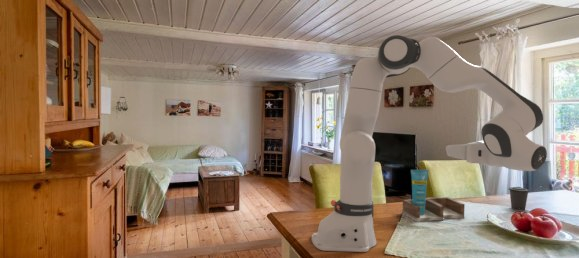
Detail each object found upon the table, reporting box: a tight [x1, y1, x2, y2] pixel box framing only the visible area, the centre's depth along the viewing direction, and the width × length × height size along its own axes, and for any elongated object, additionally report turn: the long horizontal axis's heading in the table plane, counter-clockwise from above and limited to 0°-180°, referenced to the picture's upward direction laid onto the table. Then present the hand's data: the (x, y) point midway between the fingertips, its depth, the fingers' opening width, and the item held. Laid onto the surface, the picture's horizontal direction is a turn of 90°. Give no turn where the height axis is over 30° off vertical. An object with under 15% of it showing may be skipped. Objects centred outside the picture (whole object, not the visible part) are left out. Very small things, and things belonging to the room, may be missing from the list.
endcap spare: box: [426, 196, 466, 219], centre depth 144 cm, size 12×12×6 cm
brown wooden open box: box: [402, 198, 444, 222], centre depth 140 cm, size 12×12×6 cm
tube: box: [410, 169, 429, 215], centre depth 139 cm, size 7×5×19 cm, turn 93°
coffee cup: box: [508, 186, 530, 211], centre depth 153 cm, size 8×8×10 cm
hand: (457, 148), depth 119 cm, fingers open, 8 cm apart
